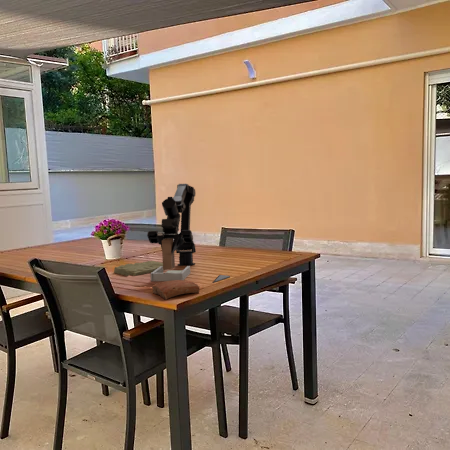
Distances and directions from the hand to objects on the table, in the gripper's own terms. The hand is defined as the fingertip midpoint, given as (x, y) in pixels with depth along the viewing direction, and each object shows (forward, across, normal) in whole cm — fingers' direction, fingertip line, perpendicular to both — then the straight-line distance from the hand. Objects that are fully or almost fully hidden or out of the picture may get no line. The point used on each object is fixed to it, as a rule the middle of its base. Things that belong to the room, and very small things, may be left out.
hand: (167, 252), depth 182 cm
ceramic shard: (+22, +6, -4) cm, 23 cm away
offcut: (+2, 0, +14) cm, 14 cm away
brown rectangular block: (+4, 0, +6) cm, 7 cm away
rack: (+5, 0, +11) cm, 13 cm away
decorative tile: (-6, -18, +24) cm, 30 cm away
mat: (+5, +17, +12) cm, 21 cm away
